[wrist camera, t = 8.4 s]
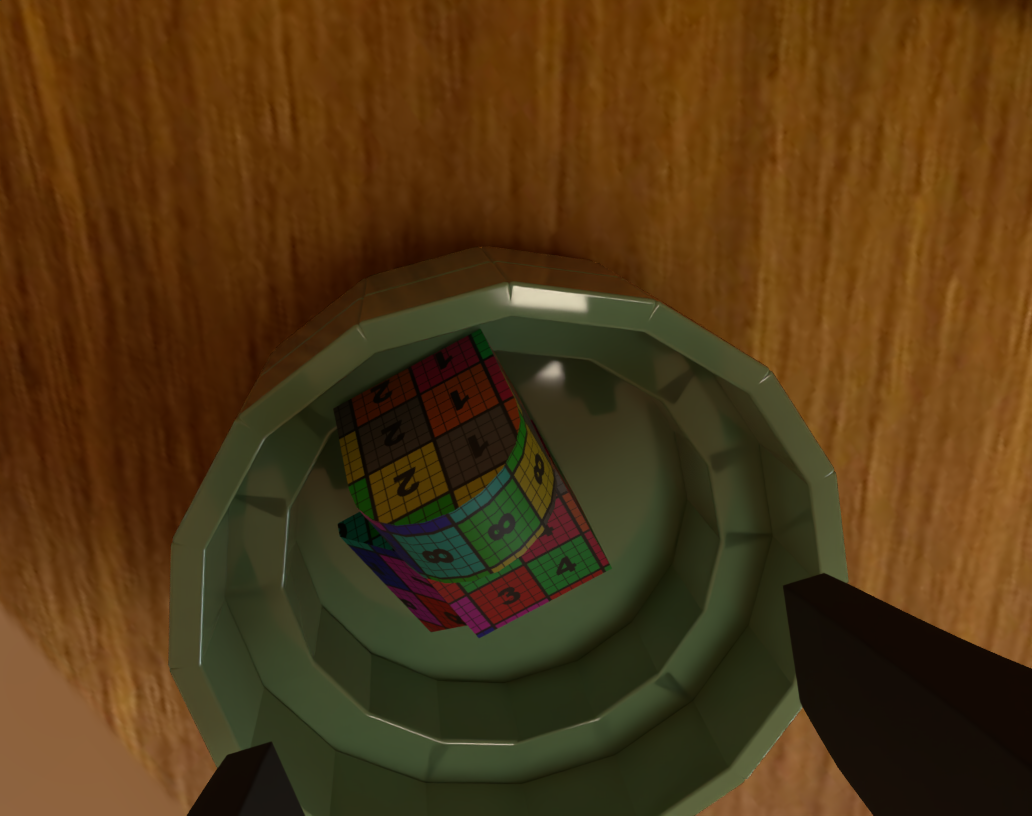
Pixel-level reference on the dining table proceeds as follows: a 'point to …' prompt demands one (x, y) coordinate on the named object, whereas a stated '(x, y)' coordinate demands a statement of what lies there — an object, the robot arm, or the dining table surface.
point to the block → (461, 494)
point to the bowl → (545, 630)
